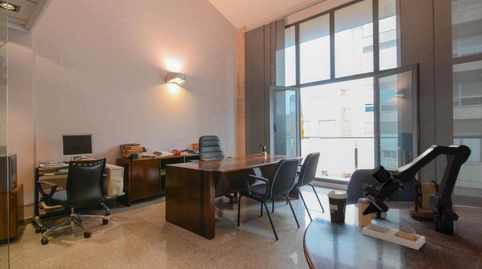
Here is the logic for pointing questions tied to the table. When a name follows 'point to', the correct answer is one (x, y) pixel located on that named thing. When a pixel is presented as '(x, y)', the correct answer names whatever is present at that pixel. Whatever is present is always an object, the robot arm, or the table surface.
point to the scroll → (424, 200)
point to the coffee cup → (337, 206)
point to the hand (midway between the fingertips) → (361, 212)
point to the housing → (392, 236)
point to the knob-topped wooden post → (362, 205)
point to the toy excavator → (379, 214)
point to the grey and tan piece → (407, 232)
